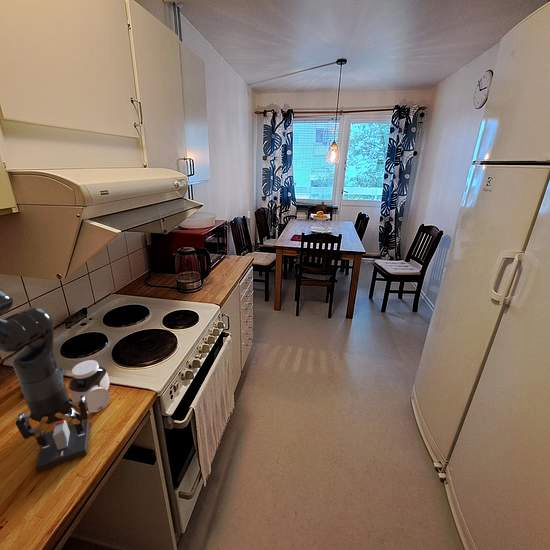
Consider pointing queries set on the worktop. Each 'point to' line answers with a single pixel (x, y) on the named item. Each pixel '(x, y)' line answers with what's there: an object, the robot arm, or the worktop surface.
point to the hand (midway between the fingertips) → (63, 437)
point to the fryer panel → (75, 448)
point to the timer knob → (61, 434)
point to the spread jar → (90, 384)
